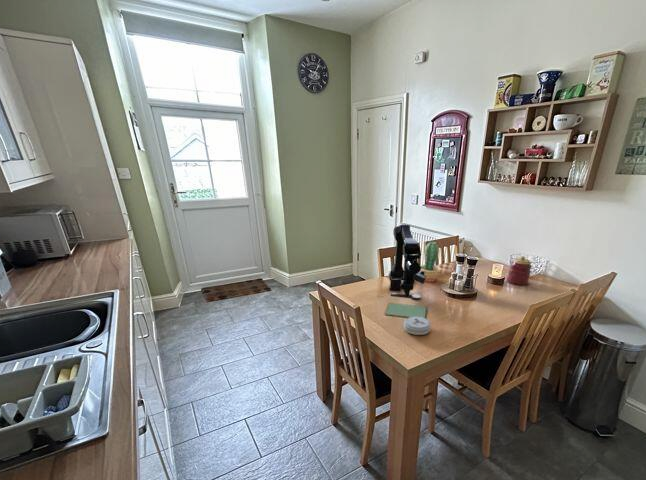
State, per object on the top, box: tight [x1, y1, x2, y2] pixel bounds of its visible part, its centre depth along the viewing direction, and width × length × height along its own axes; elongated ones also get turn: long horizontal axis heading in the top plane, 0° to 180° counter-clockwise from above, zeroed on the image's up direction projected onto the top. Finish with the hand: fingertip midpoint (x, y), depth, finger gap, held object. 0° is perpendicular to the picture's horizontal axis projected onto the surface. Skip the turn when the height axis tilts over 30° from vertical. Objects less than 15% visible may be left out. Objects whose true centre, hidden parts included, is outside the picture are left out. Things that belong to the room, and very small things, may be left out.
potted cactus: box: [420, 241, 442, 283], centre depth 213 cm, size 15×15×25 cm
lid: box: [403, 316, 432, 336], centre depth 153 cm, size 13×13×5 cm
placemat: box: [385, 302, 427, 319], centre depth 173 cm, size 20×14×1 cm
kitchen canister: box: [506, 255, 533, 286], centre depth 214 cm, size 13×13×18 cm
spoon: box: [390, 292, 422, 302], centre depth 170 cm, size 16×5×2 cm, turn 78°
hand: (407, 296), depth 169 cm, fingers closed on spoon, 2 cm apart
